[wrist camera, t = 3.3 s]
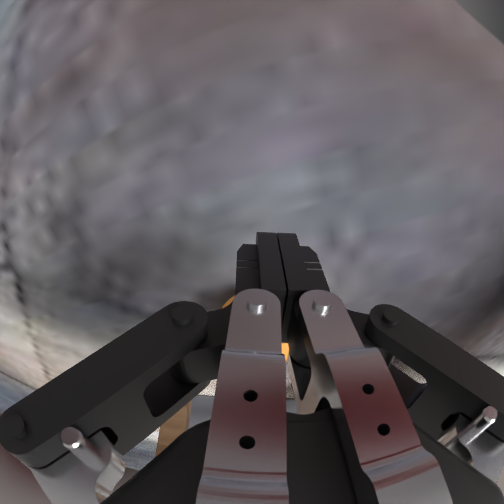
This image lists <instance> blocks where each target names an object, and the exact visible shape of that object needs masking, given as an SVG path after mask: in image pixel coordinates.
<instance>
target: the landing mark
mask: <svg viewBox="0 0 504 504" xmlns="http://www.w3.org/2000/svg"><path fill="white" fill-rule="evenodd" d="M213 402H214V396H204V395H197V396H195V397H194V398H193V399H192V404H191V412H190V420H189V428H191V427H193V426H195V425H197V424H199V423H202V422H204V421H207V420H210V419H211V415H212V409H213ZM286 412H290V413H296V414H297V405H296V400H295V399H286ZM189 428H188V429H189Z"/></svg>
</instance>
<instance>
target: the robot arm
mask: <svg viewBox="0 0 504 504" xmlns="http://www.w3.org/2000/svg"><path fill="white" fill-rule="evenodd" d="M282 343H288V346H289V352H288V357H287V364H288V369H289V373H290V378H291V382H292V387H293V391H294V396H295V400H296V405H297V414H296V413H290V412H286V364H285V355H284V354H282ZM394 357H396V358H397V359H399V360H400V361H402V362H403V363H405V364H406V365H408V366H409V367H410V368H412V369H413V370H415V371H416V372H418V373H419V374H421V375H422V376H423V377H424V378H425V379H426V382H427V383H424V384H421V383H418V382H416V381H415V380H413V379H412V378H410V377H409V376H408V375H406V374H405V373H403V372H402V371H400V370H399V369H398V368H396V367H395V366H393V365H392V364H391V363H392V361H393V359H394ZM213 379H217V384H216V390H215V396H214V402H213V409H212V415H211V419H210V420H207V421H204V422H202V423H199V424H197V425H195V426H193V427H191V428H189V429H188V430H186V431H185V432H183V433H182V434H181V435H179V436H178V437H177V438H176V439H175V440H174V441H173V442H172V443H171V444H170V445H168V446H167V447H166V448H165V449H164V450H163V451H162V452H161V453H160V454H158V455H157V456H156V457H155V458H154V459H153V460H152V461H151V462H149V463H148V464H147V465H146V466H145V467H144V468H142V469H141V470H140V471H139V472H138V473H137V474H135V475H134V476H133V477H132V478H131V479H129V480H128V481H127V482H126V483H125V484H123V485H122V486H121V487H120V488H119V489H117V490H116V491H115V492H114V493H112V490H113V487H114V486H115V484H117V482H118V481H119V480H120V479H121V478H122V476H123V474H124V471H125V462H124V459H123V457H122V456H123V455H124V454H126V453H127V452H128V451H130V450H131V449H132V448H133V447H135V446H136V445H137V444H139V443H140V442H141V441H142V440H144V439H145V438H146V437H147V436H149V435H150V434H151V433H152V432H154V431H155V430H156V429H157V428H159V427H160V426H161V425H162V424H163V423H165V422H166V421H167V420H168V419H170V418H171V417H172V416H173V415H174V414H176V413H177V412H178V411H179V410H180V409H181V408H183V407H184V406H185V405H186V404H187V403H188V402H190V401H191V400H192V399H193V398H194V397H195V396H197V395H198V394H199V393H200V392H201V391H202V390H203V389H205V388H206V387H207V386H208V385H209V383H210V381H211V380H213ZM0 443H1V445H2V446H3V447H4V448H5V449H6V450H7V451H9V452H10V453H11V454H12V455H14V456H15V457H16V458H18V459H19V460H20V461H21V462H22V463H23V464H24V465H26V466H27V467H28V468H29V469H30V470H31V471H32V473H33V475H34V476H35V478H36V479H37V481H38V483H39V484H40V486H41V487H42V489H43V490H44V492H45V494H46V495H47V497H48V498H49V499H50V501H51V502H52V504H504V496H503V494H502V492H501V490H500V488H499V487H498V486H497V484H496V483H497V481H498V479H499V476H500V474H501V471H502V469H503V466H504V377H503V376H502V375H500V374H499V373H497V372H496V371H495V370H493V369H492V368H490V367H489V366H487V365H486V364H484V363H483V362H481V361H480V360H478V359H477V358H475V357H474V356H472V355H471V354H469V353H468V352H466V351H465V350H463V349H462V348H460V347H459V346H457V345H456V344H454V343H453V342H451V341H449V340H448V339H446V338H445V337H443V336H442V335H440V334H439V333H437V332H436V331H434V330H432V329H431V328H429V327H428V326H426V325H425V324H423V323H422V322H420V321H418V320H417V319H415V318H414V317H412V316H411V315H409V314H407V313H406V312H404V311H403V310H401V309H399V308H397V307H395V306H392V305H387V304H381V305H377V306H375V307H374V308H372V310H371V311H370V314H369V315H367V314H363V313H358V312H354V311H350V310H348V309H346V308H345V306H344V304H343V302H342V300H341V299H340V298H339V297H338V296H336V295H335V294H333V293H331V292H330V290H329V287H328V284H327V281H326V278H325V276H324V273H323V270H322V267H321V265H320V264H319V259H318V257H317V254H316V253H315V252H314V251H313V250H312V249H311V248H310V247H308V246H300V245H299V242H298V239H297V235H296V234H294V233H277V234H276V233H268V232H257V235H256V245H253V244H243V245H242V246H241V247H240V248H239V250H238V251H237V270H236V294H235V297H234V299H233V301H232V302H231V303H230V304H229V305H228V306H226V307H224V308H222V309H219V310H216V311H211V312H206V311H205V309H204V308H203V307H201V306H200V305H198V304H196V303H193V302H188V301H180V302H175V303H172V304H169V305H167V306H166V307H164V308H163V309H161V310H160V311H158V312H156V313H155V314H153V315H152V316H150V317H149V318H147V319H146V320H144V321H142V322H141V323H139V324H138V325H136V326H135V327H133V328H132V329H130V330H129V331H127V332H125V333H124V334H122V335H121V336H119V337H118V338H116V339H115V340H113V341H112V342H110V343H108V344H107V345H105V346H104V347H102V348H101V349H99V350H98V351H96V352H95V353H93V354H91V355H90V356H88V357H87V358H85V359H84V360H82V361H81V362H79V363H78V364H76V365H74V366H73V367H71V368H70V369H68V370H67V371H65V372H64V373H62V374H61V375H59V376H57V377H56V378H54V379H53V380H51V381H50V382H48V383H47V384H45V385H44V386H42V387H40V388H39V389H37V390H36V391H34V392H33V393H31V394H30V395H28V396H27V397H25V398H23V399H22V400H20V401H19V402H17V403H16V404H14V405H13V406H11V407H10V408H8V409H7V410H6V411H5V412H4V413H3V414H2V416H1V417H0ZM111 493H112V494H111Z"/></svg>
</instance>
